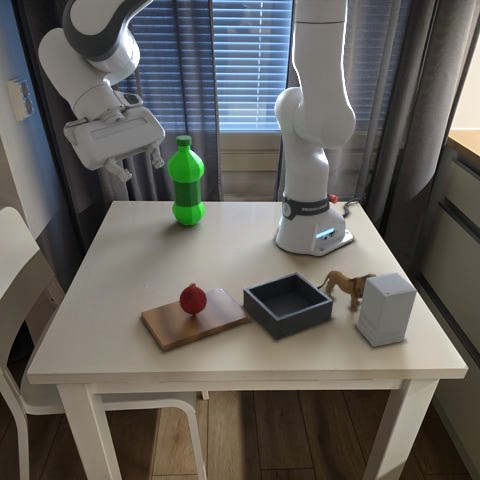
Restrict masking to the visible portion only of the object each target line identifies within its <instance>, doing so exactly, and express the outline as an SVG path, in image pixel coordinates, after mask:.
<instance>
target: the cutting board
mask: <svg viewBox="0 0 480 480" xmlns="http://www.w3.org/2000/svg"><path fill="white" fill-rule="evenodd" d="M204 293H205V294H206V298H207V304H206V306H205V308H204V310H202V311H201V312H200V313H198V314H196V315H192V314H188V313H186V312H184V310H183V309H182V308H181V306H180V300H176V301H173V302H170V303H167V304H164V305H160V306H157V307H154V308H150V309H147V310H144V311H141V312H140V316H141V320H142V321H143V322H144V324H145V325H146V327H147V329H148V330H149V331H150V333H151V334H152V335H153V337H154V338H155V340H156V342H157V343H158V345H159V346H160V348H161V349H162V350H163V352H166V351H169V350H172V349H175V348H177V347H181V346H183V345H187V344H189V343H192V342H195V341H198V340H199V339H203V338H206V337H208V336H211V335H214V334H217V333H220V332H222V331H225V330H228V329H231V328H234V327H237V326H240V325H242V324H245V323H248V322H249V320H250V319H249V315H248V314H247V312H245V311H244V309H242V307H240V306H239V305H238V304H237V303H236V302H235V300H234V299H233V298H231V297H230V296H229V295H228V293H226V291H225V290H223V288H221V287H218V288H215V289H212V290H209V291H204Z"/></svg>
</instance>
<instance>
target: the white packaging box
mask: <svg viewBox="0 0 480 480" xmlns="http://www.w3.org/2000/svg"><path fill="white" fill-rule="evenodd" d="M417 292H418V290H417V289H416V288H415V287H414V286H413V285H411V283H409V282H408V281H407V280H406V279H405V278H404V277H402V276H401V275H400V274H399V273H398V272H393V273H386V274H382V275H381V274H380V275H376V277H370V278H366V282H365V287H364V292H363V298H362V299H361V302H360V308H359V312H358V313H359V314H358V317H357V324H356V328H357V329H358V331H359V332H360V333H361V334H362V336H364V337H365V339H366V340H367V342H369V343H370V345H371V346H372V348H374V347H380V346H385V345H390V344H396V343H400V342H403V341H404V340H405V335H406V332H407V328H408V325H409V321H410V318H411V314H412V310H413V308H414V304H415V299H416V297H417Z"/></svg>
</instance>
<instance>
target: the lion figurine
mask: <svg viewBox="0 0 480 480" xmlns="http://www.w3.org/2000/svg"><path fill="white" fill-rule="evenodd" d="M376 276H377V274H375V273H367V274H365V275H363V276H356V277H353V278H351V277H348V276H347V275H345V274H344V273H343V272H342V271H340V270H334V269H333V270H331V271H329V272H328V273H327V275H326V276H325V279H324V281H323V283H322V284H321V285H318V286H316V288H318V289H319V290H321V289H322V288H324V286H325V285H326V286H325V290H327V296H328V297H329V298H331V299H332V300H333V301H334V296H332V291H333V289H334V287H335V286H337V287H338V289H339V290H340V291H341V292H342V293H344V294H347V295H349V296H350V310H351V311H353V312H354V311H356V310H357V306H358V305H361V302H360V299H361V300H362V298H363V292H364V287H365V282H366V278H370V277H376ZM356 305H357V306H356Z"/></svg>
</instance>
